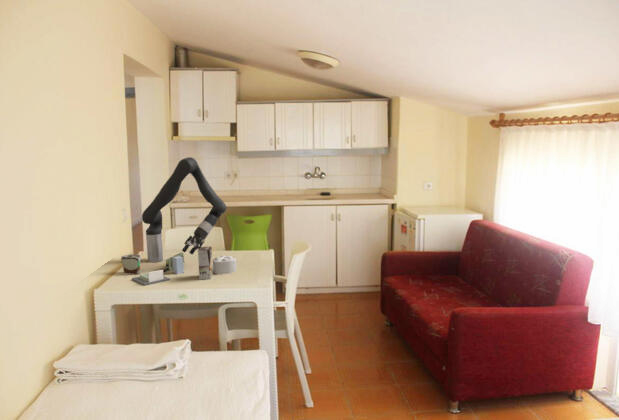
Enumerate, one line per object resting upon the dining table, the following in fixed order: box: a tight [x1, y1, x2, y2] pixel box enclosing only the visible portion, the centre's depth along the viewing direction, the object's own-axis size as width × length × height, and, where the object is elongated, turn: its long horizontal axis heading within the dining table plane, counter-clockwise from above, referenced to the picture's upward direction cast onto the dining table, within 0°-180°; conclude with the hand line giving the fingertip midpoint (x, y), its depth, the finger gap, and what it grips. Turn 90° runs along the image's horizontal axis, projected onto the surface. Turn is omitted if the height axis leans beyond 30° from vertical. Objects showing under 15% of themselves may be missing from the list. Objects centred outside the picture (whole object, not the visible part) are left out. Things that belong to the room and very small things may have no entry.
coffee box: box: [197, 246, 214, 280], centre depth 264 cm, size 9×6×16 cm
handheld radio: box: [162, 252, 185, 273], centre depth 288 cm, size 7×3×25 cm
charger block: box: [172, 256, 185, 275], centre depth 275 cm, size 4×4×9 cm
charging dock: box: [131, 269, 171, 286], centre depth 261 cm, size 16×14×6 cm
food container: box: [120, 254, 142, 275], centre depth 277 cm, size 12×6×10 cm, turn 71°
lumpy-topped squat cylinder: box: [212, 255, 238, 275], centre depth 276 cm, size 10×13×9 cm
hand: (186, 252), depth 278 cm, fingers open, 8 cm apart
